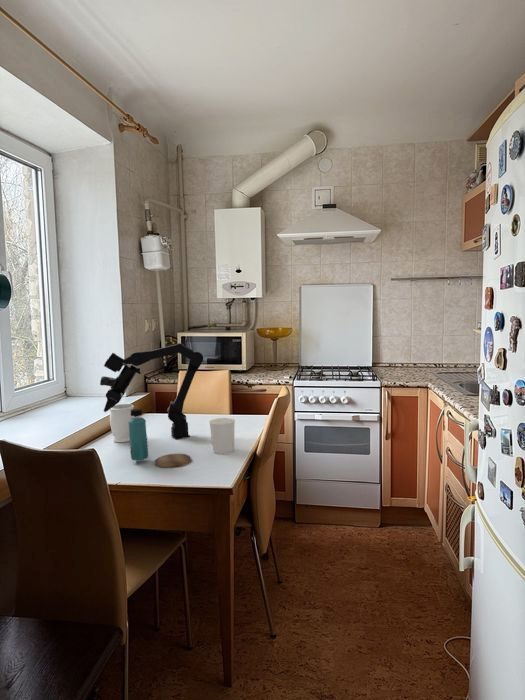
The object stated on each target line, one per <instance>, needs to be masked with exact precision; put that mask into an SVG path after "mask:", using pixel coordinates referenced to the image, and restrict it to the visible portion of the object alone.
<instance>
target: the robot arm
mask: <svg viewBox="0 0 525 700" xmlns="http://www.w3.org/2000/svg"><path fill="white" fill-rule="evenodd" d="M175 354H180V355H182V356H184V358H185V359H188V362H187V370H186V372H185V374H184V377H183V380H182V382H181V385H180V388H179V391H178V392H177V395H176V398H175V399H174V400H173V401H172V400H170V402H169V406H168V407H167V411H166V412H167V417H168V420H169V421H171V422H172V423H171V428H170V430H171V431H170V434H171V435H170V437H171V438H173V439H175V440H182V439H187V438H190V437H191V435H190V434H189V422H187V415H185V414H184V413H183V409H184V404H185V400H186V397H187V395H188V392H189V390H190V387H191V384H192V383H193V379H194V377H195V374H196V373H197V371H198V370H199V368H200V367H201V365H202V364H203V362H204V356H203V354H202V352H201V351H199V350H193V349H191V348H189V347H187V346H186V345H184V344H183V343H181V342H178V343H176V344H172V345H168V346H164V347H160V348H157V349H151V350H139V351H134V352H132V354H131V355H130V356H128V357H125V358H122V357H121V356H119V355H117V354H116V353H115V352H112V353H111V354H110V355H109V357H108V358H107V359H106V361H105V363H104V364H103V367H104V368H106V369H108V370H110V371H112V372H114V373H116V372H120V373H119V375H118V376H116V377H109V376H106V375H105V376H104V375H103V376H101V377H100V383H99V385H100V386H106V387H110V389H108V390H107V392H106V393H105V398H106V403H105V406H104V409H103V412H104V413H107V412H108V411H110V410H109V409H111V408H112V407H113V406H115V405H118V404H119V403H120V402H121V400H122V398H123V396H125V393H126V392H127V389H128V388H129V386H130V384H131V382H132V381H133V379H134V378H135V376H136V374H138V375H141V374H142V371H141V367H139V366H142V365H143V364H146V363H147V362H150V361H153V360H155V359H159V358H165V357H167V356H170V355H175Z"/></svg>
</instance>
